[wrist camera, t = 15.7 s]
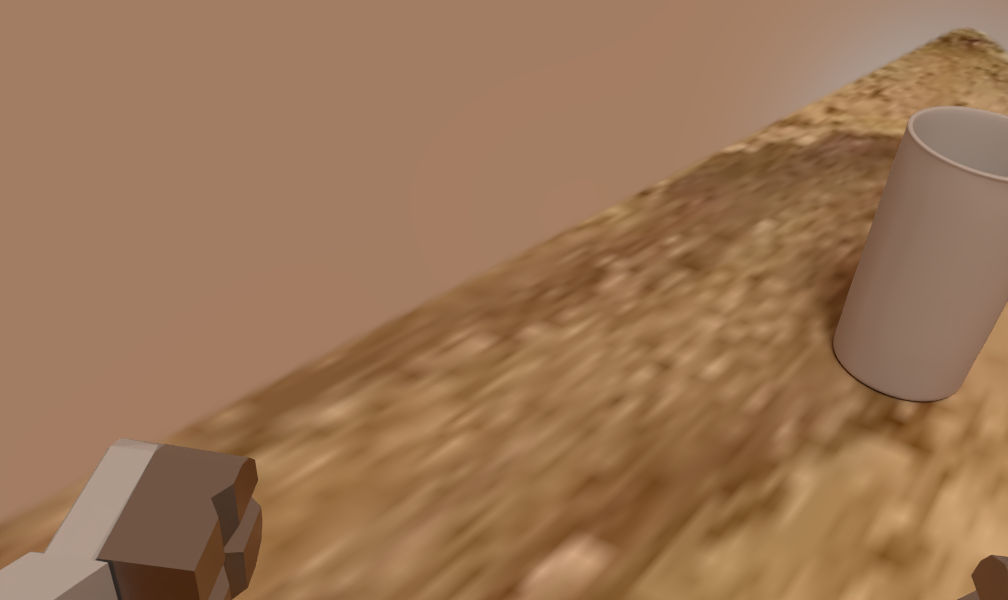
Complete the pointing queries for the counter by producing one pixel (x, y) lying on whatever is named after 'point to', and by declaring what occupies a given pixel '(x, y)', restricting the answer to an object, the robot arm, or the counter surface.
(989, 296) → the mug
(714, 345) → the counter surface
